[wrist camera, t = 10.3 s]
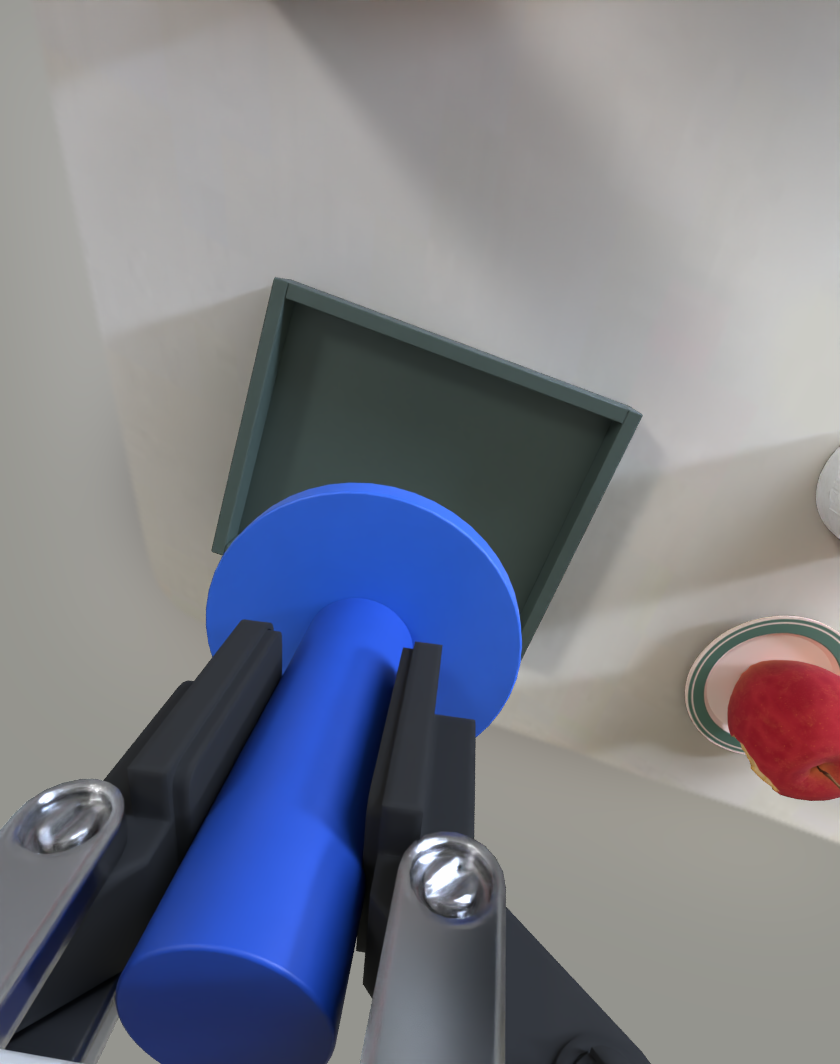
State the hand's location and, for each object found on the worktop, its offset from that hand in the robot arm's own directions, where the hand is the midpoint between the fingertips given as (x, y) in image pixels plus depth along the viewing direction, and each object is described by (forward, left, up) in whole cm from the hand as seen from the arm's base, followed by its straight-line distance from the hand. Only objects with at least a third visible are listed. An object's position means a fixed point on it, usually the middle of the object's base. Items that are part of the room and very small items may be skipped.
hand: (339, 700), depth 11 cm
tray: (0, 0, -17) cm, 17 cm away
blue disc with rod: (0, 0, -3) cm, 3 cm away
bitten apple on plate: (+18, +9, -17) cm, 26 cm away
